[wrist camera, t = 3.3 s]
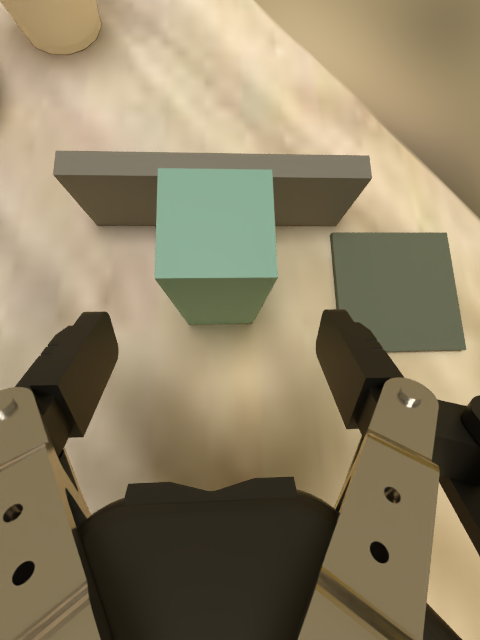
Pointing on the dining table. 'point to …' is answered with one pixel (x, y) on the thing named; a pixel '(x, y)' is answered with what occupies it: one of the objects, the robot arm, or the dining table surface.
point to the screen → (142, 168)
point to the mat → (399, 289)
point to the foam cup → (56, 23)
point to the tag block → (216, 242)
